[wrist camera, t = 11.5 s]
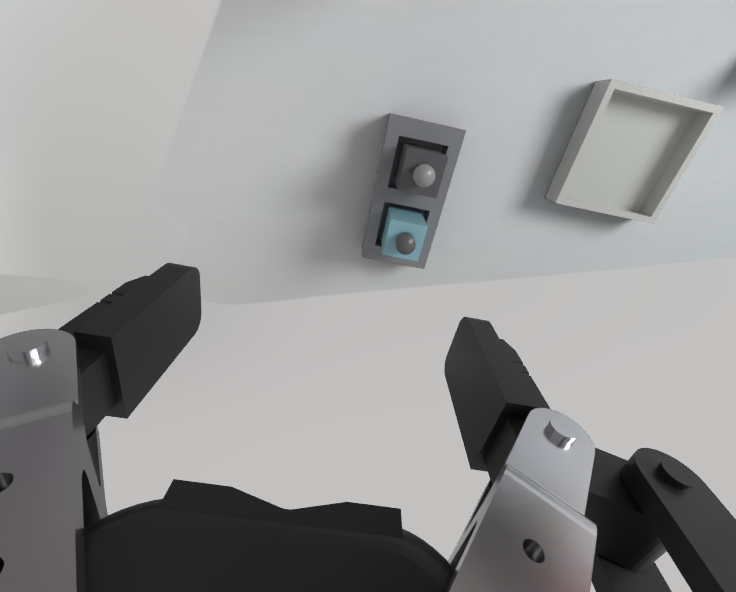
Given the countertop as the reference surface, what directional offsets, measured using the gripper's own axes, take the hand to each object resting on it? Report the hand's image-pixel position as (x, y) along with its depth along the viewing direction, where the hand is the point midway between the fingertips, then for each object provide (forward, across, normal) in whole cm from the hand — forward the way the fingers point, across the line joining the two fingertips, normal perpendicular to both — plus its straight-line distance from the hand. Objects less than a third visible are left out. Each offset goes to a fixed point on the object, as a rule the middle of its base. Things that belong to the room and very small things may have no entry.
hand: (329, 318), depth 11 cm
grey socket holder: (+34, -6, +2) cm, 35 cm away
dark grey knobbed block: (+33, -6, -2) cm, 34 cm away
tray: (+34, -29, -7) cm, 45 cm away
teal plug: (+33, -6, +6) cm, 34 cm away
